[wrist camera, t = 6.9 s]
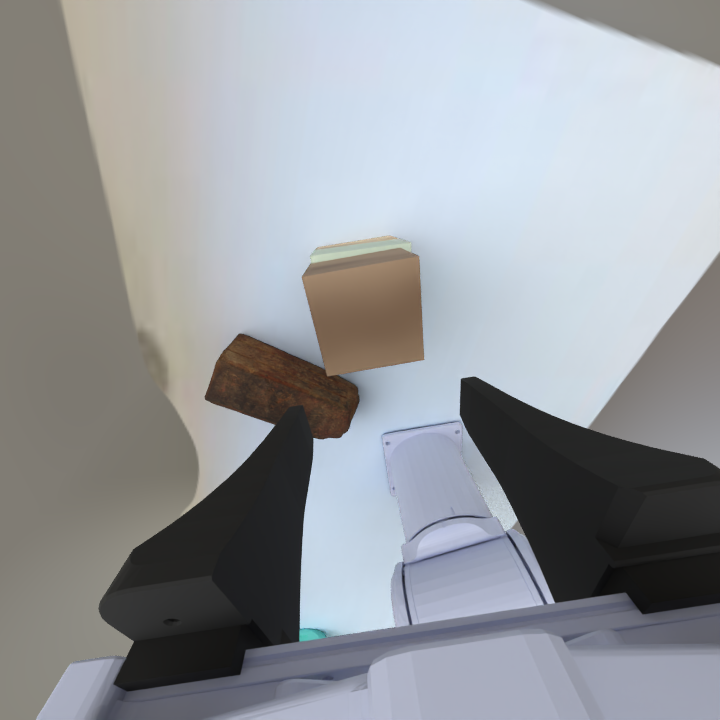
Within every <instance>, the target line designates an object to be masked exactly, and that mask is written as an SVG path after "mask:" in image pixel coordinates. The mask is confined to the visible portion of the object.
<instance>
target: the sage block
mask: <svg viewBox="0 0 720 720" xmlns="http://www.w3.org/2000/svg"><path fill="white" fill-rule="evenodd" d="M396 248H402V249H404V250H407V251H409V252H411V242H408V241H405V240H402V239H392V240H385V241H377V242H370V243H362V244H355V245H348V246H340V247H333V248H325V249H318V250H315V251H314V252H313V253H312V254H311V255H310V259H311V263H317V262H322V261H328V260H334V259H339V258H345V257H351V256H356V255H362V254H367V253H373V252H379V251H384V250H390V249H396Z"/></svg>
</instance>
